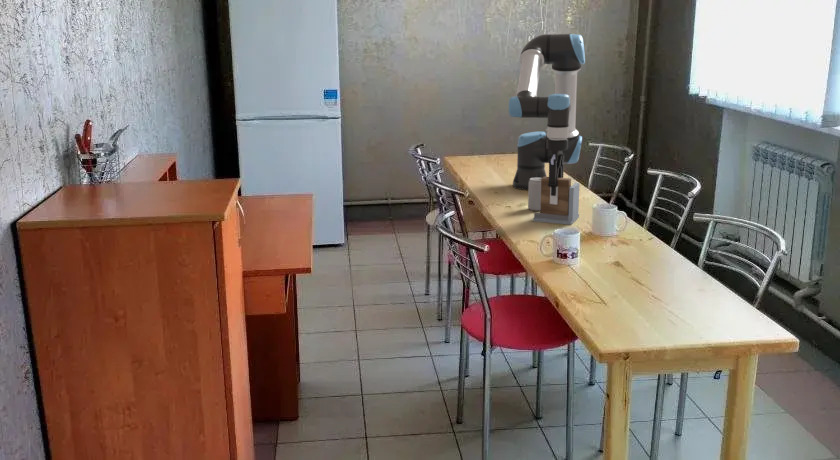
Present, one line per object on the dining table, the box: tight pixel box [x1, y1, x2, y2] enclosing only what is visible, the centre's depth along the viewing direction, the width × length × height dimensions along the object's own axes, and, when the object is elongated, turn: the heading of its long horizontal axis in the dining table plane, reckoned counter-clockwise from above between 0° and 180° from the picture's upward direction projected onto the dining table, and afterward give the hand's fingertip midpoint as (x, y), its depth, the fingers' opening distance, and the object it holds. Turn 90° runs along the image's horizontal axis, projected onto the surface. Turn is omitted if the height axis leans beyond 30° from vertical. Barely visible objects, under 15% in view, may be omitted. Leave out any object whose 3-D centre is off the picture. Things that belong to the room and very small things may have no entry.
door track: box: [532, 182, 581, 225], centre depth 285 cm, size 12×14×13 cm
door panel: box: [539, 176, 572, 215], centre depth 285 cm, size 4×10×14 cm, turn 66°
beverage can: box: [527, 178, 541, 212], centre depth 299 cm, size 6×6×12 cm
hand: (555, 202), depth 286 cm, fingers open, 4 cm apart
